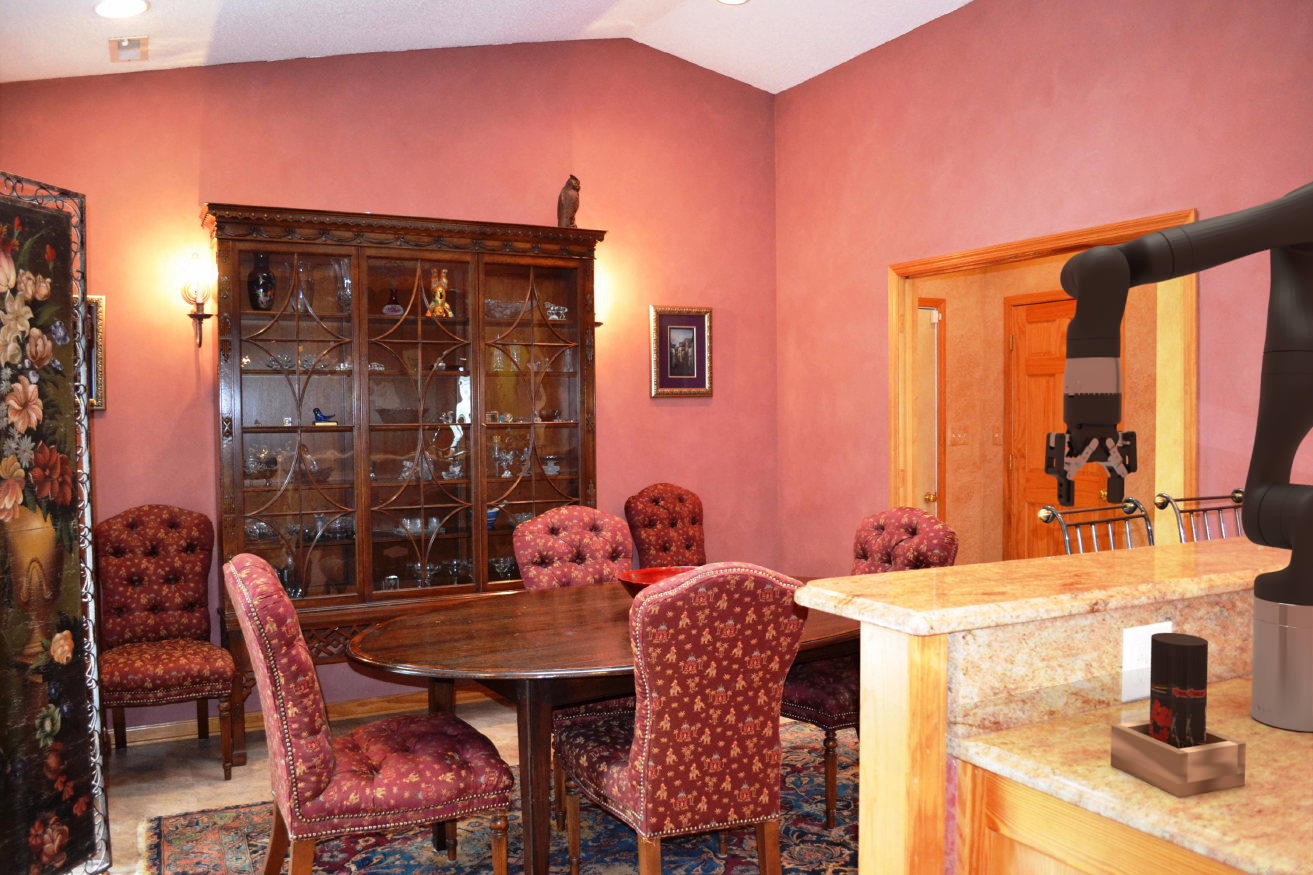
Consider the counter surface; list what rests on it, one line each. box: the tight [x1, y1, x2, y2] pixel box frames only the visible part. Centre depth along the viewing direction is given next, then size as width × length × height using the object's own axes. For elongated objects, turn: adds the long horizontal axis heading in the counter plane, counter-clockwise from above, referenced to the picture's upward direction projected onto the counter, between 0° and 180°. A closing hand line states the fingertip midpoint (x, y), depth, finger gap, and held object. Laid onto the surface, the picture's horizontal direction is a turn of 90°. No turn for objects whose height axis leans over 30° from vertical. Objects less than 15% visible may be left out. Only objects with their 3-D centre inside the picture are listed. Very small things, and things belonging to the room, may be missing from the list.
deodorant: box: [1149, 632, 1209, 749], centre depth 113 cm, size 6×6×15 cm
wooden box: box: [1110, 718, 1247, 798], centre depth 113 cm, size 10×10×5 cm
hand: (1090, 504), depth 134 cm, fingers open, 8 cm apart
